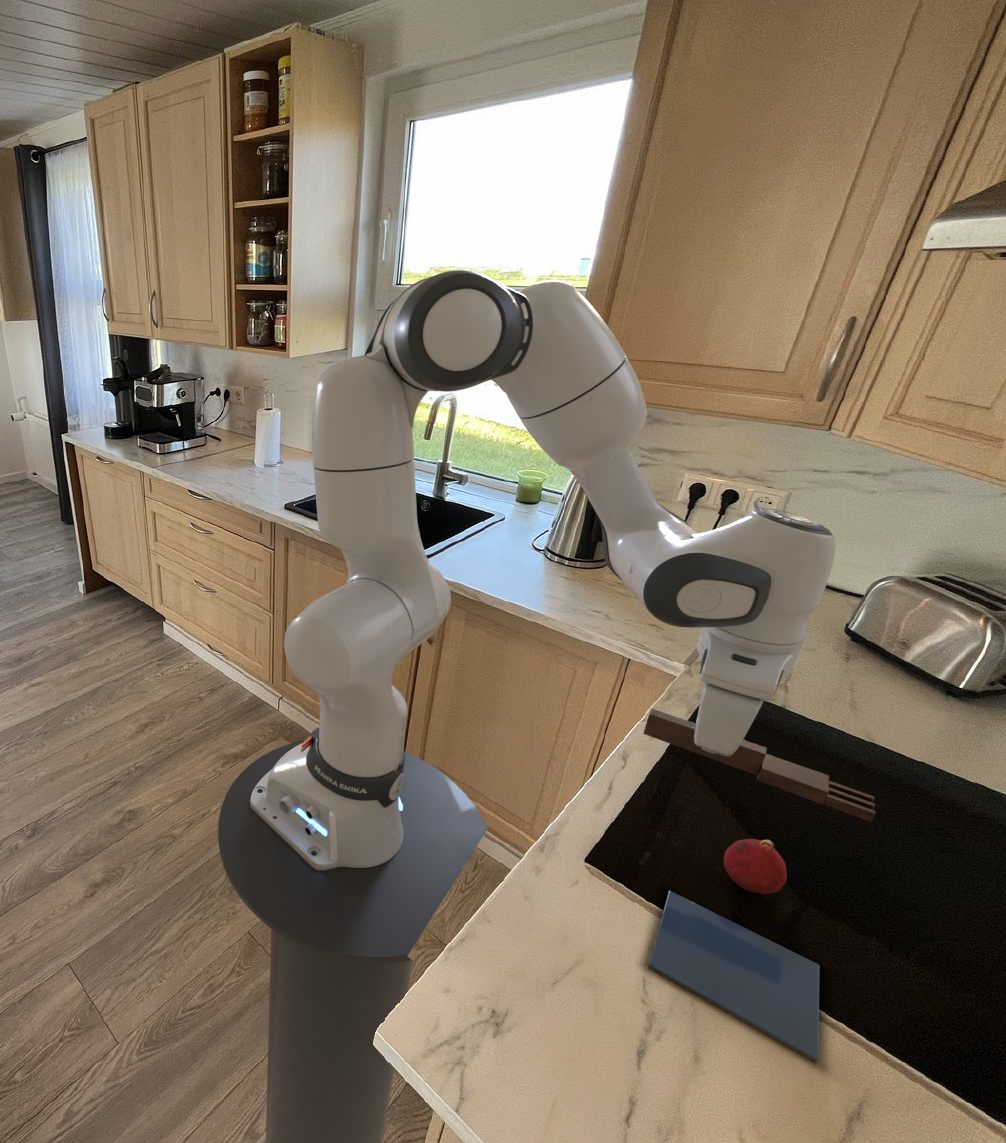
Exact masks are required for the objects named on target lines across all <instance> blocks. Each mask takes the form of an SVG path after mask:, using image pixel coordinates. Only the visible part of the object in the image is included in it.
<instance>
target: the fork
mask: <svg viewBox="0 0 1006 1143" xmlns="http://www.w3.org/2000/svg"><path fill="white" fill-rule="evenodd" d="M647 717H648V718H647V720H646V723H645V727H644V730H643V733H642V734H643V735H645V736H649V737H651V738H654V739H656V740H659V741H663V742H664V743H667V744H669V745H672V746H676V747H678V748H681V749H684V750H687V751H689V752H692V753H695V754H697V755H700V756H702V757H703V756H704V757H706V758H708V759H711V760H714V761H716V762H719V763H722V764H725V765H727V766H730V767H732V768H735V769H738V770H741V771H744V772H747V773H749V774H751V775H755V776H756V781H758V782H761V783H764V784H766V785H768V786H772V787H774V788H777V789H779V790H783V791H785V792H787V793H791V794H793V795H795V796H799V797H801V798H804V799H807V800H809V801H812V802H815V803H817V804H819V805H824V806H827V807H829V808H831V809H835V810H837V811H840V812H842V813H846V814H848V815H851V816H853V817H857V818H859V819H861V820H865V821H868V822H869V823H871V822H872V821H873V819H874V818H875V815H876V810H874V809H875V808H876V803H874V801H875V796H874V795H870V794H868V793H865V792H863V791H859V790H856V789H854V788H850V787H849V786H848V787H847V786H845V785H842V784H839V783H837V782H833V781H831V780H830V775H829V774H825V773H823V772H820V771H817V770H814V769H811V768H808V767H806V766H802V765H800V764H797V763H794V762H792V761H789V760H785V759H782V758H779V757H778V756H777V757H776V756H773V755H771V754H768V753H767V750H768V747H766V746H762V745H759V744H757V743H754V742H751V741H748V740H745V739H743V741H742V742H741V744H740V746H739V747H738V749H737V750H736V752H735V753H734V754H733V755H731V756H723V755H720V754H717V753H716V754H713V753H710V752H708V751H705V750H703V749H702V748H701V747H699V746H697V745H696V744H695V742H694V733H695V727H696V722H692V721H689V720H687V719H684V718H682V717H678V716H675V715H672V714H669V713H666V712H663V711H662V710H661V711H660V710H657V709H654V708H651V709H650V711H649V713H648V716H647Z"/></svg>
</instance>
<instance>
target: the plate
mask: <svg viewBox="0 0 1006 1143" xmlns="http://www.w3.org/2000/svg"><path fill="white" fill-rule="evenodd" d="M648 968H649V969H651V970H653V971H655V972H656V973H658V974H660V975H661V976H663V977H665V978H666V979H668V980H670V981H672V982H673V983H675V984H677V985H678V986H680V987H682V988H684V989H685V990H688V991H690V992H691V993H693V994H695V995H697V996H699V997H700V998H702V999H704V1000H705V1001H707V1002H709V1003H711V1004H713V1005H714V1006H716V1007H718V1008H720V1009H722V1011H725V1012H727V1013H729V1014H730V1015H732V1016H734V1017H735V1018H736V1019H739V1020H741V1021H742V1022H744V1023H746V1024H747V1025H750V1026H751V1027H753V1028H755V1029H757V1030H758V1031H760V1032H761V1033H764V1034H765V1035H767V1036H769V1037H771V1038H772V1039H774V1040H776V1041H777V1042H779V1043H781V1044H782V1045H784V1046H786V1047H788V1048H790V1049H792V1050H793V1051H795V1052H797V1053H799V1054H801V1055H802V1056H804V1057H806V1058H808V1059H809V1060H811V1061H812V1062H815V1063H817V1062H818V1061H819V1042H820V1040H819V1039H820V1037H819V1036H820V1035H819V1034H820V974H821V972H820V970H821V969H820V968H821V965H820V964H819V963H817V962H814V961H813V960H812V959H809V958H807V957H804V956H803V955H801V954H798V953H796V952H794V951H792V950H790V949H788V948H787V947H784V946H783V945H780V944H778V943H776V942H774V941H773V940H770V939H768V938H766V937H764V936H762V935H761V934H758V933H756V932H754V931H752V930H750V929H748V928H746V927H744V926H742V925H740V924H739V923H736V922H734V921H732V920H730V919H728V918H726V917H723V916H722V915H719V914H718V913H717V912H716V913H715V912H713V911H712V910H710V909H708V908H705V906H704V907H703V906H702V905H699V904H698V903H696V902H694V901H691V900H689V899H687V898H686V897H683V896H681V895H679V894H677V893H675V892H673V891H672V890H668V893H667V895H666V900H665V904H664V907H663V912H662V915H661V919H660V923H659V926H658V930H657V933H656V936H655V941H654V945H653V949H652V952H651V956H650V960H649V963H648Z"/></svg>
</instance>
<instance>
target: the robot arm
mask: <svg viewBox="0 0 1006 1143" xmlns="http://www.w3.org/2000/svg"><path fill="white" fill-rule="evenodd" d="M489 381H492V382H493V383H495V384H496V385H497V386H498V387H499V388H500V389H501V390H502V392H503V393H505V395H506V396H507V398H508V401H509V402H510V405H511V406H512V407H513V409H514V411H515V413H516V415H517V416H518V418H519V419H520V421H521V423H522V424H523V426H524V428H525V429H526V430H527V432H528V433H529V435H530V436H531V437H532V438H533V440H534V441H535V442H536V444H537V445H538V447H539V448H541V449H542V451H543V452H544V453H545V454H547V456H548V457H549V458H550V459H551V460H552V461H553V462H554V463H555V464H556V465H557V466H560V467H563V468H564V469H566V470H568V471H569V473H571V474H572V476H573V477H574V478H575V479H576V481H577V484H578V485H579V486H580V488H581V490H582V492H583V493H584V495H585V497H586V498H587V500H588V502H589V504H590V506H591V508H592V509H593V512H595V515H596V516H597V518H598V520H599V523H600V526H601V535H602V536H601V539H602V541H601V542H602V544H601V545H602V554H603V555H602V556H603V559H604V562H605V564H606V567H607V568H608V569H609V570H610V571H611V573H613V575H614V576H615V577H617V578H618V579H619V580H620V581H621V582H622V583H623V584H624V585H625V586H626V587H627V588H628V590H629V592H631V594H632V595H633V596H634V597H635V598H636V599H637V600H638V601H639V602H640V604H641V605H642V606H643V607H644V608H645V609H646V610H647V612H649V613H650V614H651V615H652V616H653V617H654V618H655V619H657V620H658V621H660V622H662V623H664V624H666V625H669V626H672V627H678V628H694V629H695V628H697V629H698V628H701V629H702V630H701V632H700V636H699V639H698V643H697V645H696V652H697V653H698V656H699V661H700V671H699V674H700V675H699V681H701V682H702V690H701V695H700V701H699V706H698V712H697V717H696V721H695V723H696V727H695V733H694V742H695V744H696V745H697V746H699V747H701V748H702V749H703V750H705V751H708V752H710V753H713V754H716V753H717V754H720V755H723V756H731V755H733V754H734V753H735V752H736V750H737V749H738V747H739V746H740V744H741V742H742V741H743V740H745V737H746V735H747V734H748V732H749V730H750V729H751V726H752V724H753V723H754V721H755V720H756V717H757V715H758V713H759V712H760V709H761V708H762V705H763V704H764V701H765V702H771V701H772V700H773V698H774V696H775V695H776V693H777V689H778V687H779V684H781V683H782V682H783V681H784V680H785V679H786V678H788V677H789V676H790V674H791V672H792V669H793V667H794V666H795V663H796V660H797V659H798V655H799V653H800V651H801V648H802V646H803V643H804V641H805V639H806V634H807V621H808V618H809V617H810V615H811V614H812V613H813V611H814V610H815V609H816V608H817V607H818V606H819V604H820V602H821V600H822V597H823V595H824V592H825V589H826V587H827V584H828V581H829V578H830V576H831V572H832V568H833V564H834V561H835V555H836V548H837V547H836V538H835V535H834V534H833V533H832V532H831V531H830V529H828V528H827V527H825V525H822V524H820V523H818V522H817V521H815V520H813V519H811V518H808V517H805V516H802V515H799V514H797V513H793V512H789V511H786V510H782V509H777V508H769V507H764V508H754V509H752V510H750V511H749V512H748V513H747V514H746V515H744V516H743V517H741V518H739V519H738V520H735V521H733V522H731V523H728V524H726V525H723V526H721V527H718V528H715V529H711V530H707V531H703V532H698V531H697V530H695V529H694V528H693V527H692V526H691V525H690V524H689V523H688V522H686V520H684V518H682V517H681V516H680V515H678V514H677V513H675V512H674V511H672V510H671V509H668V508H667V507H665V506H664V505H661V504H660V503H659V501H657V500H656V498H655V496H654V494H653V493H652V491H651V489H650V487H649V485H648V483H647V481H646V480H645V477H644V475H643V473H642V472H641V470H640V467H639V466H638V464H637V462H636V460H635V458H634V455H633V453H632V450H631V445H632V444H633V443H634V441H636V439H637V438H638V437H639V435H640V433H642V430H643V428H644V426H645V424H646V422H647V419H648V415H649V414H648V413H649V411H648V407H647V403H646V400H645V395H644V391H643V389H642V385H641V383H640V381H639V378H638V375H637V373H636V371H635V369H634V368H633V366H632V363H631V362H630V359H629V358H628V356H627V355H626V353H625V351H624V349H623V347H622V346H621V344H620V342H619V340H618V339H617V337H616V336H615V335H614V333H613V332H612V329H610V327H609V326H608V325H607V322H605V320H604V319H603V317H602V316H601V315H600V313H599V312H598V311H597V310H596V309H595V307H594V306H593V305H592V304H591V302H590V301H589V300H588V299H587V298H586V297H585V296H584V295H583V293H581V292H580V291H579V289H577V287H575V286H574V285H573V284H571V283H569V282H567V281H564V280H560V279H551V280H544V281H539V282H535V283H533V284H530V285H528V286H526V287H524V288H522V289H520V290H518V291H517V290H515V289H512V288H510V287H508V286H506V285H504V284H502V283H500V282H498V281H496V280H495V279H493V278H491V277H489V276H487V275H485V274H482V273H479V272H475V271H471V270H462V269H454V270H448V271H447V270H446V271H444V272H440V273H438V274H435V275H432V276H429V277H425V278H423V279H420V280H418V281H416V282H415V283H412V284H411V285H410V286H408V287H407V288H406V289H404V290H403V291H402V292H401V293H400V294H399V295H397V297H396V298H395V299H394V300H392V302H391V303H390V304H389V305H388V307H387V308H386V309H385V311H384V312H383V314H382V316H381V317H380V320H379V321H378V324H377V326H376V328H375V331H374V333H373V335H372V338H371V339H370V342H369V343H368V346H367V348H366V350H365V352H364V354H363V355H358V356H357V355H356V356H352V357H348V358H345V359H342V360H339V361H338V362H336V363H335V364H332V365H331V366H330V367H328V368H327V369H326V370H325V371H324V372H323V373H322V374H321V375H320V377H319V378H318V381H317V383H316V387H315V395H314V402H313V414H312V431H311V432H312V437H311V438H312V439H311V441H312V443H311V444H312V464H313V479H314V491H315V503H316V504H315V505H316V515H317V525H318V526H317V527H318V531H319V533H320V534H321V536H322V538H323V539H324V540H325V541H326V542H327V543H328V544H330V545H331V546H333V547H335V548H337V549H339V550H340V551H341V553H342V555H343V558H344V560H345V563H346V567H347V573H348V574H347V580H346V583H345V584H344V585H342V586H340V587H338V588H336V589H334V590H332V591H330V592H328V593H326V594H324V595H322V596H320V597H318V598H317V599H315V600H313V601H312V602H311V603H310V604H309V605H308V606H307V607H306V608H304V609H303V610H302V611H301V612H300V613H299V614H298V615H296V617H295V618H294V619H293V620H292V621H291V622H290V623H289V624H288V626H287V628H286V631H285V632H284V633H285V634H284V640H283V645H284V646H283V647H284V653H285V658H286V661H287V664H288V666H289V668H290V670H291V672H292V673H293V675H294V676H295V678H297V680H298V681H300V683H301V684H302V685H303V686H305V687H306V688H307V689H309V690H311V691H313V692H314V693H316V694H317V695H318V701H319V724H318V727H316V728H315V729H313V731H311V732H310V733H309V737H308V738H306V739H305V740H306V741H303V740H302V739H301V740H299V741H300V743H299V744H298V745H297V746H296V747H294V748H293V749H291V750H290V751H288V752H287V753H286V754H285V755H284V756H282V757H281V758H280V759H279V761H278V762H277V763H276V764H275V766H274V767H273V769H271V770H270V771H269V772H268V773H267V774H266V775H265V776H264V777H263V778H262V779H261V780H260V781H259V782H258V784H257V785H256V787H255V788H254V790H253V792H252V795H251V801H250V807H251V808H252V809H253V810H254V811H255V812H256V813H257V814H258V815H259V816H260V817H261V818H262V819H263V820H264V821H265V822H266V823H267V824H268V825H269V826H270V827H271V828H272V829H273V830H274V831H275V832H276V833H278V834H279V835H280V836H281V837H282V838H283V839H284V840H285V841H286V842H287V843H288V844H289V845H290V846H291V847H292V848H293V849H294V850H295V851H296V852H297V853H298V854H299V855H300V856H301V857H303V858H304V859H305V860H306V861H307V862H308V863H309V864H310V865H311V866H312V867H313V868H314V869H316V870H329V869H333V868H336V867H351V868H368V867H374V866H377V865H380V864H383V863H385V862H387V861H388V860H390V859H391V858H392V857H394V856H395V855H396V853H397V852H398V851H399V849H400V848H401V845H402V842H403V837H404V831H403V826H402V822H401V818H400V811H402V809H403V805H402V803H401V800H400V798H399V794H400V791H401V788H402V783H403V777H404V774H403V772H404V762H405V753H404V752H405V750H404V745H405V736H406V728H407V723H408V721H407V720H408V713H409V712H408V711H409V709H408V704H407V702H406V699H405V697H404V696H403V694H402V693H401V692H400V691H399V690H398V689H397V688H396V687H395V686H394V685H393V684H392V680H393V679H392V678H393V674H394V672H395V669H397V666H398V664H399V662H401V660H402V659H403V658H404V657H406V656H407V655H408V654H409V653H410V652H412V651H413V650H415V649H417V647H419V646H421V645H422V644H423V643H425V642H426V641H427V640H429V639H430V638H431V637H433V635H434V634H435V633H436V632H437V630H438V628H439V627H440V626H441V625H442V624H443V621H444V620H445V619H446V617H447V616H448V614H449V612H450V609H451V606H452V595H451V589H450V586H449V584H448V582H447V580H446V578H445V577H444V575H443V574H442V572H440V570H439V569H437V568H436V567H435V566H433V565H432V564H431V563H430V562H429V558H428V557H427V553H426V551H425V548H424V545H423V542H422V538H421V533H420V528H419V523H418V510H417V491H416V490H417V489H416V470H415V469H416V467H415V465H416V464H415V444H414V443H415V442H414V432H413V430H414V425H415V418H416V413H417V411H418V408H419V405H420V403H421V402H422V400H423V399H424V397H425V396H426V395H427V394H428V392H442V393H443V392H444V393H445V392H449V393H450V392H456V391H457V392H458V391H462V390H467V389H470V388H473V387H475V386H478V385H481V384H483V383H486V382H489ZM399 809H400V810H399ZM312 854H315V856H313V855H312Z"/></svg>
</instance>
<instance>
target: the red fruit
mask: <svg viewBox="0 0 1006 1143" xmlns="http://www.w3.org/2000/svg"><path fill="white" fill-rule="evenodd" d="M723 866H724V869H725V871H726V873H727V874H728V876H729V877H730V879H731V880H732V881H733V882H734V883H735V884H737V885H738V886H739V887H741V888H742V890H745V891H746V892H751V893H754V894H755V893H756V894H762V895H769V894H770V895H771V894H774V893H778V892H779V891H780V890H781V889H782V887H783V886H784V885H785V884H786V883H787V878H788V873H787V866H786V862H785V860H784V859H783V858H782V856H781V854H779V852H778V851H777V850H776V849H775V844H774V843H773V842H772V841H771V840H770V839H763V840H760V839H755V838H744V839H739V840H736V841H735V842H733V843H732V844H731V845H730V846H728V847H727V848H726V850H725V852H724V855H723Z"/></svg>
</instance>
